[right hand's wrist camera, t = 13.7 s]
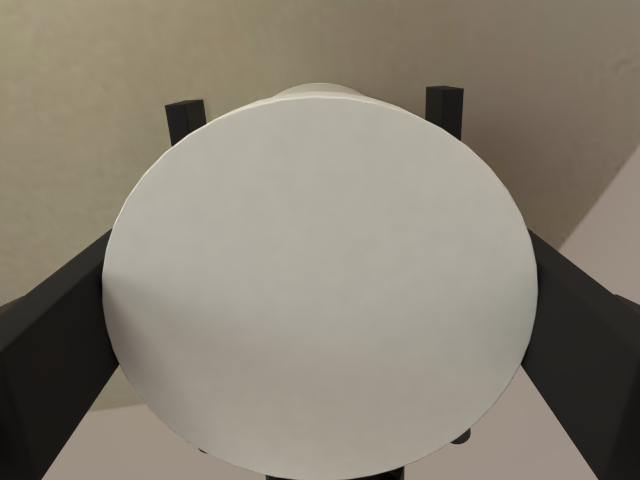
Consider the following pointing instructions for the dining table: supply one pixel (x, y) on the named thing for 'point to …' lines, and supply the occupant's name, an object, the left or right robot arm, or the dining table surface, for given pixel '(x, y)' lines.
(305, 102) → the lid
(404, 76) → the dining table surface
